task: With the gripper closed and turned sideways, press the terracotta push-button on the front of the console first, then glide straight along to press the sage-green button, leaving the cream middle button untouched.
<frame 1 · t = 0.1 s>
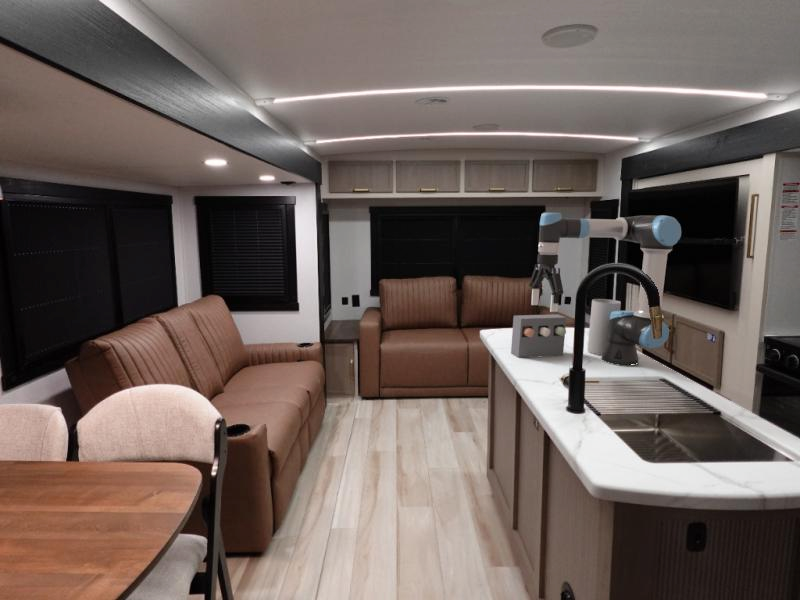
hand: (543, 308, 191), 28 cm above the table, tool pointing down, fingers open, 13 cm apart
cream button: (544, 331, 223), point 12 cm above the table, slide at 0.0 cm
sage button: (559, 330, 225), point 12 cm above the table, slide at 0.0 cm
cylinder vase: (601, 353, 235), on the table
terracotta button: (528, 332, 220), point 12 cm above the table, slide at 0.0 cm
console: (537, 354, 229), on the table
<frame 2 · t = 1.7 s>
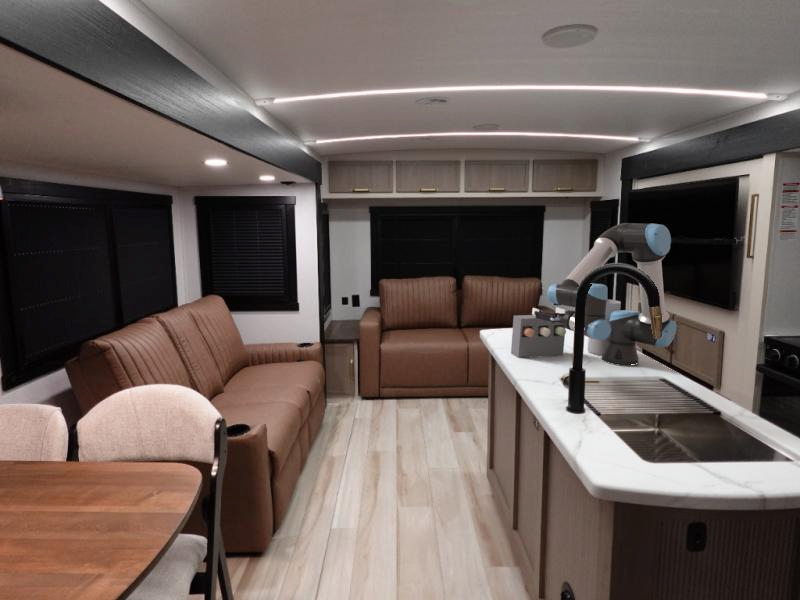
hand: (544, 310, 207), 24 cm above the table, tool horizontal, fingers open, 10 cm apart
nothing on the table moved.
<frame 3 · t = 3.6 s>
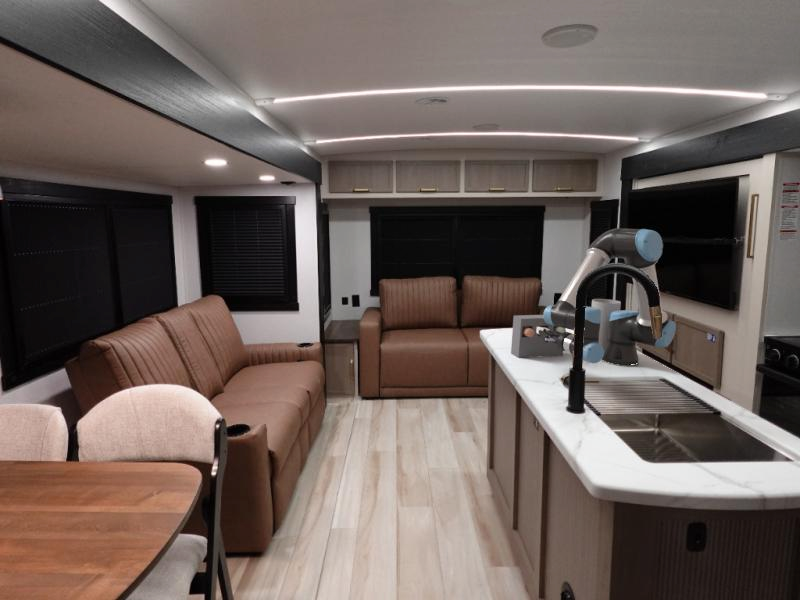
hand: (538, 329, 212), 15 cm above the table, tool horizontal, fingers closed
nothing on the table moved.
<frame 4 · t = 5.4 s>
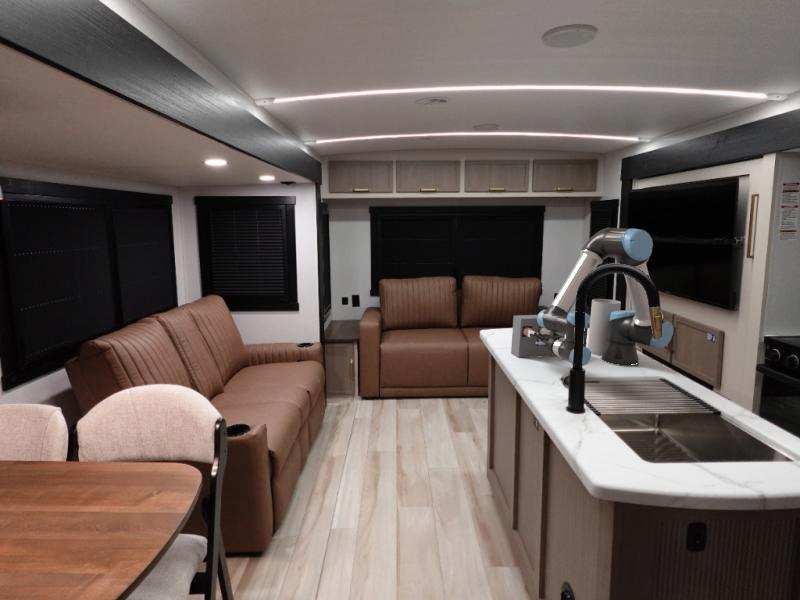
hand: (529, 333, 219), 12 cm above the table, tool horizontal, fingers closed
terracotta button: (527, 331, 221), point 12 cm above the table, slide at 1.0 cm, touching gripper
everything else where it was.
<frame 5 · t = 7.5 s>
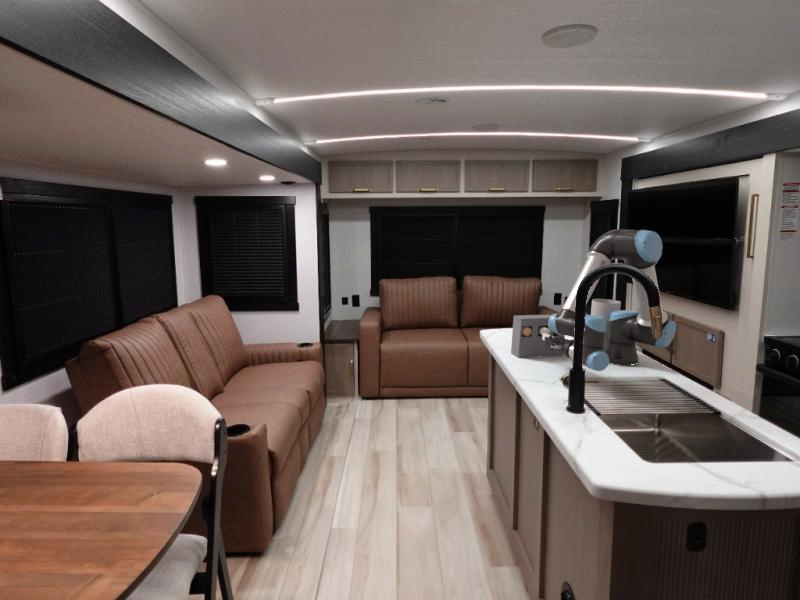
hand: (543, 336, 214), 12 cm above the table, tool horizontal, fingers closed
terracotta button: (525, 330, 223), point 12 cm above the table, slide at 2.7 cm
everything else where it was.
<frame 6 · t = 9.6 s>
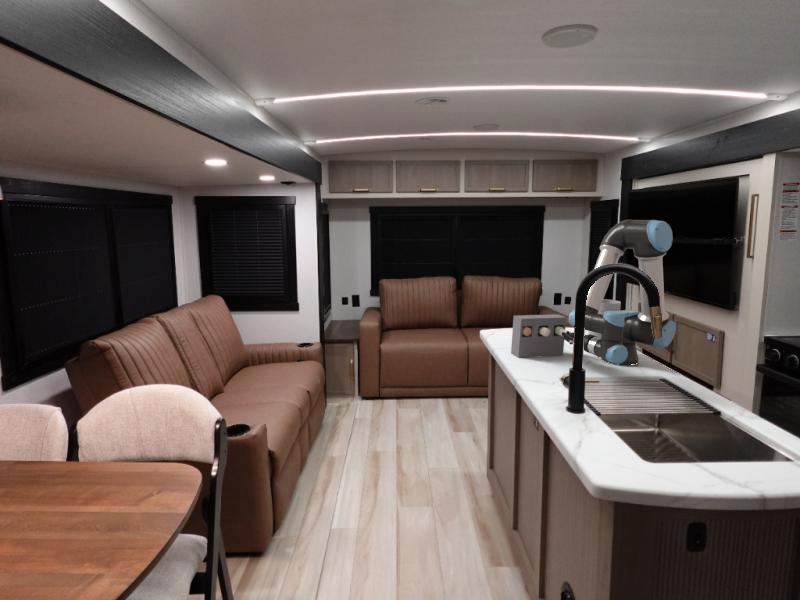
hand: (560, 331, 223), 12 cm above the table, tool horizontal, fingers closed
sage button: (558, 330, 225), point 12 cm above the table, slide at 0.7 cm, touching gripper
everything else where it was.
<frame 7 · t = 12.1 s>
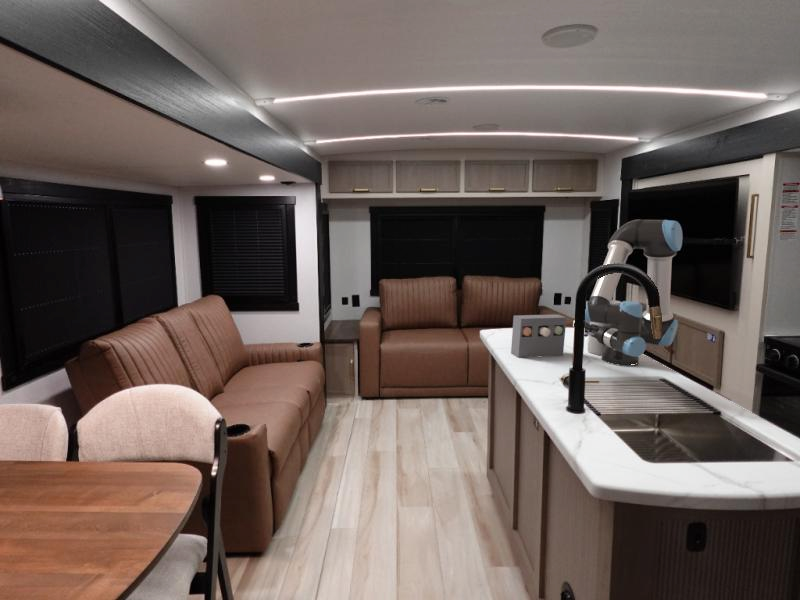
hand: (574, 323, 214), 18 cm above the table, tool horizontal, fingers closed
sage button: (556, 329, 227), point 12 cm above the table, slide at 2.7 cm
everything else where it was.
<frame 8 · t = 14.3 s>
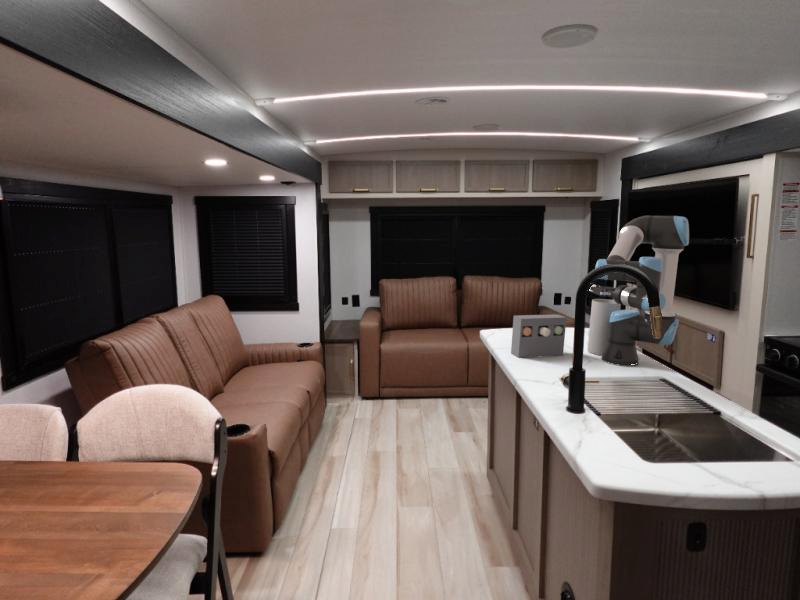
hand: (588, 287, 210), 34 cm above the table, tool horizontal, fingers closed
nothing on the table moved.
at the end: terracotta button slide at 2.7 cm; sage button slide at 2.7 cm; cream button slide at 0.0 cm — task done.
